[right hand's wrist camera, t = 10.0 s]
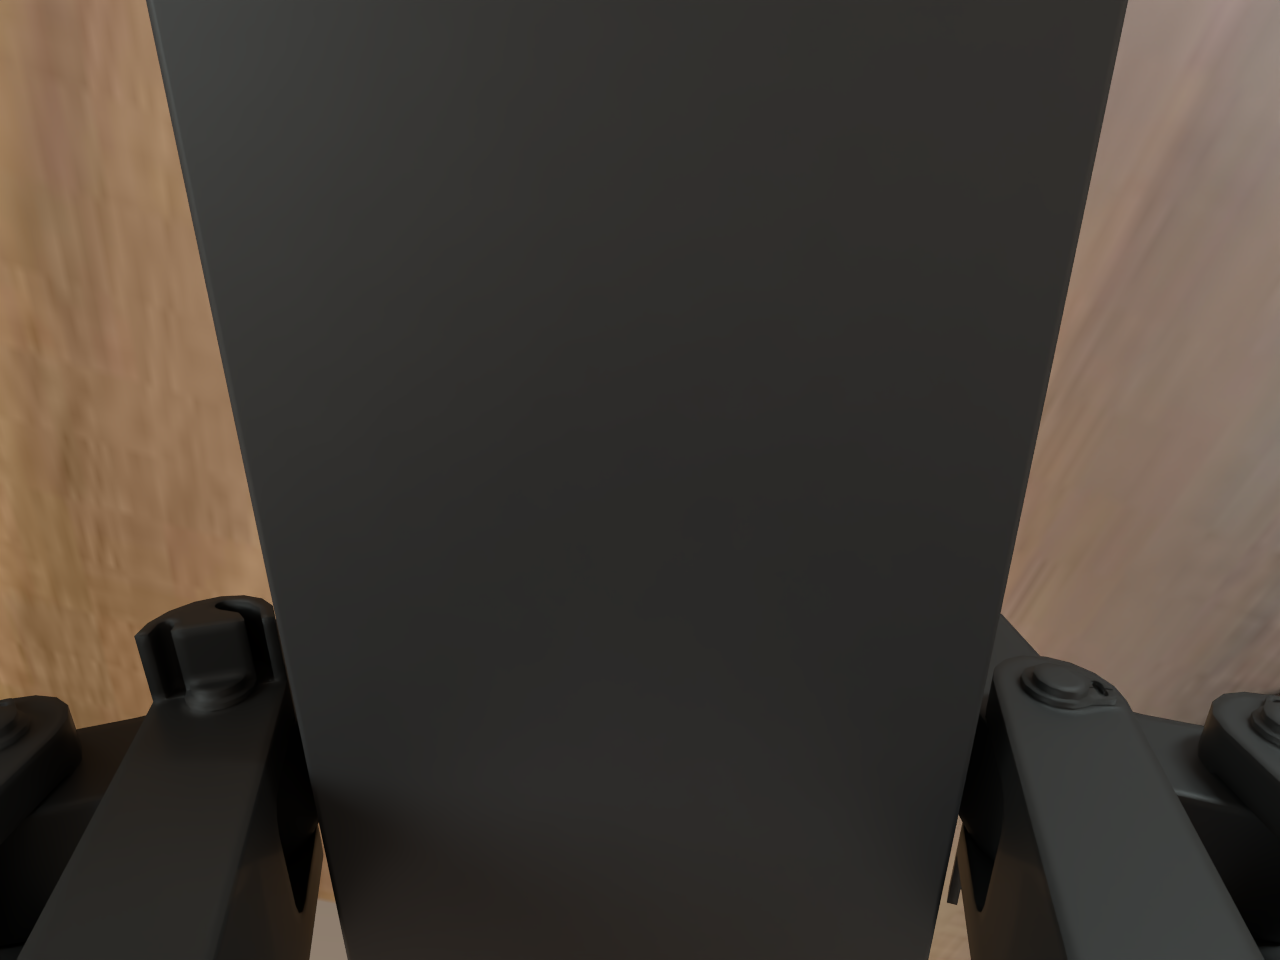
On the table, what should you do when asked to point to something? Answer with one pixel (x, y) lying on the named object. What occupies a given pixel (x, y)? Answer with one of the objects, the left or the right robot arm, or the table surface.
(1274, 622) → the table surface
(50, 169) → the table surface
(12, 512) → the table surface
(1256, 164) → the table surface
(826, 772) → the bar
